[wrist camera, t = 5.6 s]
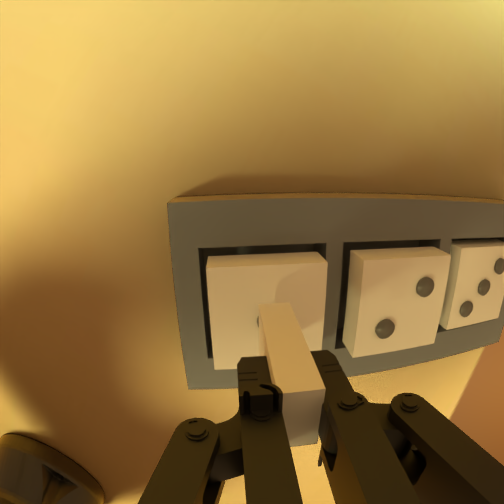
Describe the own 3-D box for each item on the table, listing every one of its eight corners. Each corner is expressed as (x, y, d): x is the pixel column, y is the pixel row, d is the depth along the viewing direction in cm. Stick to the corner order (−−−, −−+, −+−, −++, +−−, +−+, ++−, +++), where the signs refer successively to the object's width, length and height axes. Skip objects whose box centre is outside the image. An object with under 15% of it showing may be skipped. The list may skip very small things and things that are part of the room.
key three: (432, 318, 22) (447, 331, 19) (444, 240, 20) (463, 249, 18) (484, 308, 22) (499, 319, 20) (496, 239, 20) (515, 246, 18)
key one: (215, 350, 19) (214, 372, 17) (208, 256, 18) (205, 269, 15) (312, 344, 20) (321, 364, 17) (317, 251, 18) (329, 263, 16)
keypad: (192, 364, 23) (188, 389, 20) (175, 197, 19) (167, 202, 17) (480, 327, 24) (498, 341, 22) (502, 199, 21) (525, 205, 18)
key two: (342, 341, 20) (353, 360, 18) (350, 250, 18) (365, 261, 16) (419, 329, 20) (435, 345, 18) (433, 246, 19) (453, 256, 16)
